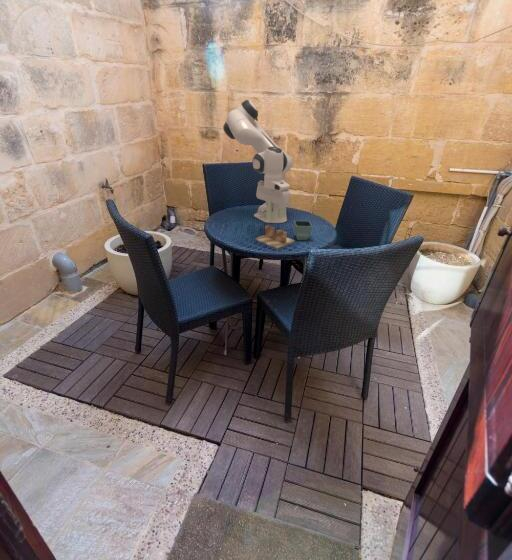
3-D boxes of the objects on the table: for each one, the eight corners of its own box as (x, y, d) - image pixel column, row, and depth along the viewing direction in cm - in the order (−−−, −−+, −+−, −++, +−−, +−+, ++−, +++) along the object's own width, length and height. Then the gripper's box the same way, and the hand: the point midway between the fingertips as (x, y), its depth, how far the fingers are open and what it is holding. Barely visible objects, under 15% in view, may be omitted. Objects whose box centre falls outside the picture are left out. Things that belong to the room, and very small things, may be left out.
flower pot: (307, 235, 181) (309, 220, 177) (310, 241, 174) (312, 226, 169) (292, 235, 181) (293, 220, 177) (294, 241, 173) (296, 226, 169)
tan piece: (255, 239, 174) (256, 227, 170) (273, 233, 182) (274, 222, 179) (276, 249, 164) (277, 236, 161) (294, 242, 173) (295, 230, 169)
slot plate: (266, 219, 164) (267, 200, 159) (282, 215, 171) (284, 196, 166) (269, 220, 162) (270, 201, 157) (285, 216, 170) (286, 197, 165)
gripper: (253, 180, 160) (253, 207, 167) (283, 188, 147) (281, 217, 154) (262, 178, 164) (261, 205, 170) (292, 186, 151) (290, 214, 158)
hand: (271, 210), depth 162 cm, fingers closed on slot plate, 2 cm apart
